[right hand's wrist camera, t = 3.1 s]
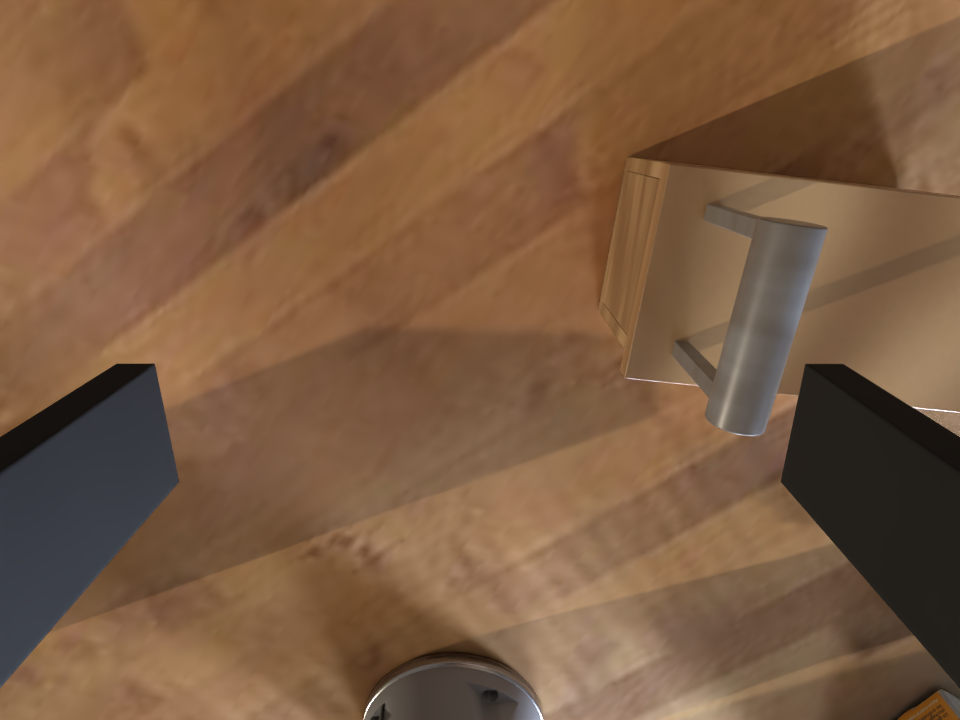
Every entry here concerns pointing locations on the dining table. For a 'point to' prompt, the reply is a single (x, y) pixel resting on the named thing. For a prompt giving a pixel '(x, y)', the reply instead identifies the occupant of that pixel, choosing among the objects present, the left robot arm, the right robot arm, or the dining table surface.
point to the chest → (642, 238)
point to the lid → (795, 290)
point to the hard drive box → (935, 708)
